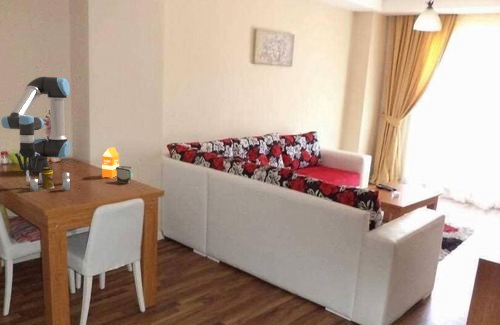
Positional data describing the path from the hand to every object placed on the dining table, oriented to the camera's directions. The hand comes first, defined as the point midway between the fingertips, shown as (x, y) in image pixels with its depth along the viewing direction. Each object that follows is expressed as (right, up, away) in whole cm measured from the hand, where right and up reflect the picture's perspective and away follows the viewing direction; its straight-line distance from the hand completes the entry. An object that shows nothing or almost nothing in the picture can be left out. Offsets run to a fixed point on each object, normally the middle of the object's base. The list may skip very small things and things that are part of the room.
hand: (28, 181), depth 252 cm
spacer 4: (+23, -5, -1) cm, 23 cm away
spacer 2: (+4, -2, +10) cm, 11 cm away
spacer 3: (+16, -2, +14) cm, 22 cm away
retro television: (+50, -2, +28) cm, 57 cm away
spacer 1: (+6, -5, -5) cm, 10 cm away
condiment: (+9, -4, +4) cm, 10 cm away
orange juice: (+36, +1, +40) cm, 54 cm away
